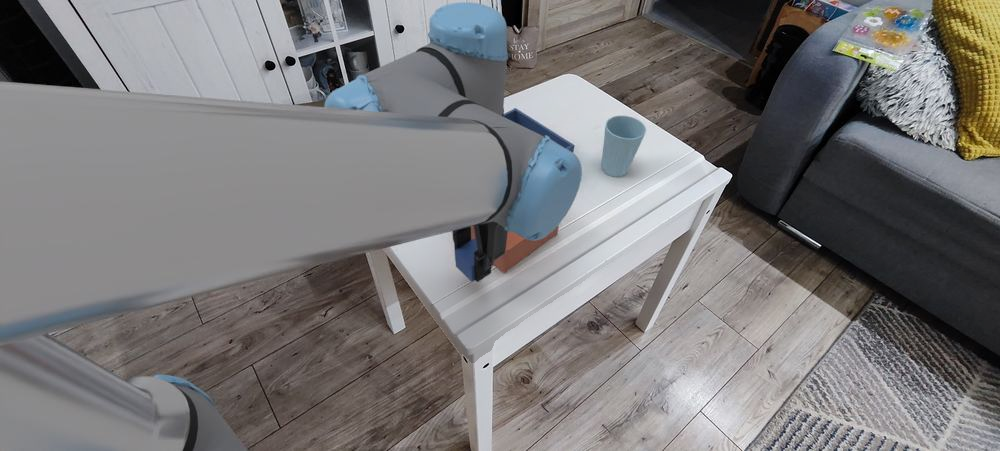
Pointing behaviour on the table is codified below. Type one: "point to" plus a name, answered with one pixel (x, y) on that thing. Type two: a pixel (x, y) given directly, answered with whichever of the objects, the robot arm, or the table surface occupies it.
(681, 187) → the table surface
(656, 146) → the table surface
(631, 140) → the cup
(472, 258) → the blue block
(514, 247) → the terracotta bin
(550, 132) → the blue bin
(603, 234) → the table surface
